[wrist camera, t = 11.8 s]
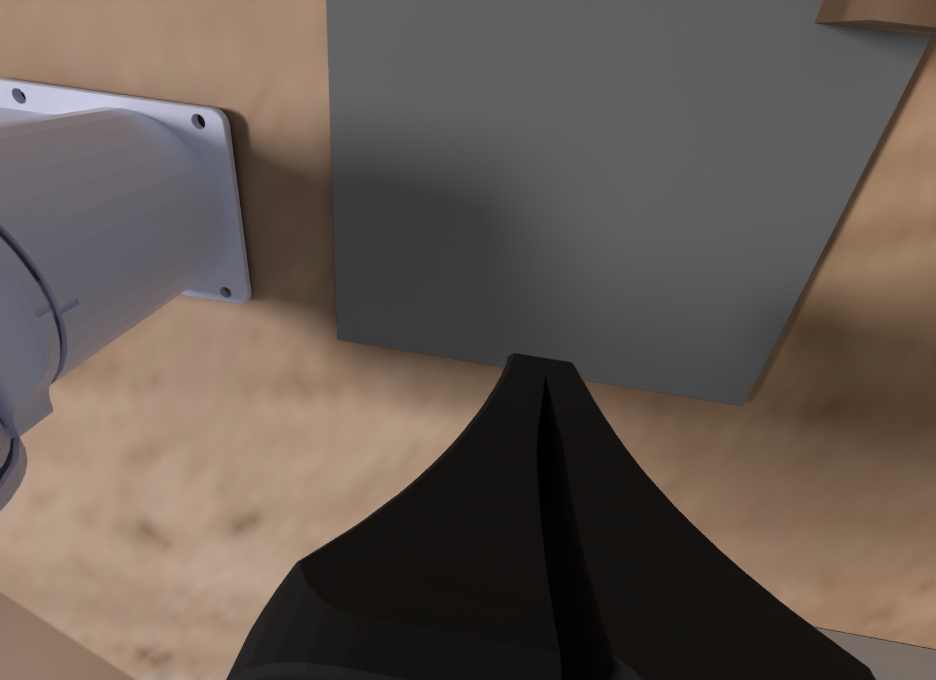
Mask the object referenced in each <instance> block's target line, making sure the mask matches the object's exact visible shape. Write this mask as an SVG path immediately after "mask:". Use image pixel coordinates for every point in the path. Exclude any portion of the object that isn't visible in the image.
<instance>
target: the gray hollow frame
mask: <svg viewBox="0 0 936 680" xmlns="http://www.w3.org/2000/svg"><path fill="white" fill-rule="evenodd" d="M816 629H817V630H819V631H820V632H821V633H823V634H824V635H826V636H827V637H828V638H830V639H831V640H832V641H834V642H835V643H836V644H838V645H839V646H840V647H842V648H843V649H844V650H846V651H847V652H849V653H850V654H851V655H853V656H854V657H855V658H857V659H858V660H859V661H861V662H862V663H863V664H865V665H866V666H867V667H869V668H870V670H871V672H872V674H873V675H874V677H875V678H876V680H936V650H933V649H928V648H922V647H917V646H912V645H906V644H901V643H895V642H890V641H885V640H879V639H874V638H869V637H863V636H858V635H852V634H847V633H842V632H836V631H831V630H825V629H820V628H816Z"/></svg>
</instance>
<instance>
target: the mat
mask: <svg viewBox="0 0 936 680" xmlns="http://www.w3.org/2000/svg"><path fill="white" fill-rule="evenodd" d="M822 3H823V0H326V6H327V37H328V68H329V99H330V131H331V162H332V193H333V225H334V256H335V287H336V318H337V340H343V341H349V342H355V343H361V344H367V345H373V346H379V347H385V348H391V349H397V350H403V351H410V352H416V353H422V354H428V355H434V356H440V357H446V358H452V359H458V360H464V361H470V362H476V363H483V364H489V365H495V366H501V367H505V365H506V362H507V357H508V356H509V355H511V354H513V353H518V354H524V355H531V356H537V357H543V358H549V359H555V360H561V361H567V362H572V363H573V364H574V366H575V367H576V369H577V371H578V373H579V374H580V376H581V378H582V380H586V381H592V382H598V383H604V384H610V385H616V386H623V387H629V388H635V389H641V390H647V391H653V392H659V393H665V394H671V395H677V396H683V397H690V398H696V399H702V400H708V401H714V402H720V403H726V404H732V405H738V406H744V404H745V402H746V400H747V398H748V396H749V395H750V393H751V391H752V389H753V387H754V385H755V383H756V381H757V379H758V377H759V375H760V373H761V371H762V369H763V367H764V365H765V363H766V361H767V359H768V357H769V355H770V353H771V351H772V349H773V347H774V345H775V343H776V342H777V340H778V338H779V336H780V334H781V332H782V330H783V328H784V326H785V324H786V322H787V320H788V318H789V316H790V314H791V312H792V310H793V308H794V306H795V304H796V302H797V300H798V298H799V296H800V294H801V292H802V291H803V289H804V287H805V285H806V283H807V281H808V279H809V277H810V275H811V273H812V271H813V269H814V267H815V265H816V263H817V261H818V259H819V257H820V255H821V253H822V251H823V249H824V247H825V245H826V243H827V241H828V240H829V238H830V236H831V234H832V232H833V230H834V228H835V226H836V224H837V222H838V220H839V218H840V216H841V214H842V212H843V210H844V208H845V206H846V204H847V202H848V200H849V198H850V196H851V194H852V192H853V190H854V188H855V187H856V185H857V183H858V181H859V179H860V177H861V175H862V173H863V171H864V169H865V167H866V165H867V163H868V161H869V159H870V157H871V155H872V153H873V151H874V149H875V147H876V145H877V143H878V141H879V139H880V137H881V136H882V134H883V132H884V130H885V128H886V126H887V124H888V122H889V120H890V118H891V116H892V114H893V112H894V110H895V108H896V106H897V104H898V102H899V100H900V98H901V96H902V94H903V92H904V90H905V88H906V86H907V84H908V83H909V81H910V79H911V77H912V75H913V73H914V71H915V69H916V67H917V65H918V63H919V61H920V59H921V57H922V55H923V53H924V51H925V49H926V47H927V45H928V43H929V41H930V39H931V37H932V35H933V34H900V33H892V32H884V31H876V30H868V29H860V28H852V27H844V26H836V25H828V24H819V23H815V20H816V18H817V15H818V13H819V10H820V8H821V5H822Z"/></svg>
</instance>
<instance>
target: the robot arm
mask: <svg viewBox="0 0 936 680" xmlns="http://www.w3.org/2000/svg"><path fill="white" fill-rule="evenodd" d="M21 91H22V92H23V93H24V95H25V97H26V100H25V99H24V98H23V96H22V94H21ZM198 115H201V116H202V117H203V118H204V121H205V127H203V126H201V125H200V124H199V122H198ZM225 287H226V288H228V289H229V290H230V291H231V294H230V293H228V292H227V291H226V290H225ZM179 294H181V295H187V296H193V297H199V298H206V299H212V300H218V301H224V302H230V303H236V304H243V303H245V302H247V301H248V300H249V299H250V297H251V285H250V278H249V270H248V262H247V255H246V247H245V239H244V231H243V224H242V216H241V208H240V201H239V193H238V185H237V178H236V170H235V162H234V155H233V147H232V139H231V131H230V124H229V121H228V118H227V116H226V115H225V113H224V112H222V111H221V110H220V109H217V108H214V107H207V106H200V105H193V104H186V103H179V102H172V101H165V100H158V99H151V98H144V97H137V96H129V95H122V94H115V93H108V92H101V91H94V90H87V89H80V88H73V87H66V86H59V85H52V84H44V83H37V82H30V81H23V80H16V79H9V78H2V77H0V511H1V510H2V509H3V508H4V507H5V505H6V504H7V503H8V502H9V501H10V499H11V498H12V497H13V495H14V494H15V492H16V491H17V489H18V488H19V486H20V484H21V482H22V480H23V477H24V475H25V473H26V467H27V454H26V448H25V446H24V444H23V442H22V441H21V439H20V436H21V435H23V434H24V433H25V432H27V431H28V430H29V429H31V428H32V427H33V426H35V425H36V424H37V423H39V422H40V421H41V420H43V419H44V418H45V417H46V416H48V415H49V414H50V413H52V412H53V406H52V404H51V401H50V397H49V387H50V385H51V384H53V383H54V382H56V381H57V380H58V379H60V378H61V377H63V376H64V375H66V374H67V373H68V372H70V371H71V370H73V369H74V368H76V367H77V366H78V365H80V364H81V363H83V362H84V361H85V360H87V359H88V358H90V357H91V356H93V355H94V354H95V353H97V352H98V351H100V350H101V349H103V348H104V347H105V346H107V345H108V344H110V343H111V342H113V341H114V340H115V339H117V338H118V337H120V336H121V335H122V334H124V333H125V332H127V331H128V330H130V329H131V328H132V327H134V326H135V325H137V324H138V323H140V322H141V321H142V320H144V319H145V318H147V317H148V316H149V315H151V314H152V313H154V312H155V311H157V310H158V309H159V308H161V307H162V306H164V305H165V304H167V303H168V302H169V301H171V300H172V299H174V298H175V297H177V296H178V295H179ZM226 680H876V678H875V677H874V675H873V674H872V672H871V670H870V668H869V667H867V666H866V665H865V664H863V663H862V662H861V661H859V660H858V659H857V658H855V657H854V656H853V655H851V654H850V653H849V652H847V651H846V650H844V649H843V648H842V647H840V646H839V645H838V644H836V643H835V642H834V641H832V640H831V639H830V638H828V637H827V636H826V635H824V634H823V633H821V632H820V631H819V630H817V629H816V628H815V627H813V626H812V625H811V624H809V623H808V622H807V621H805V620H804V619H803V618H801V617H800V616H798V615H797V614H796V613H794V612H793V611H792V610H790V609H789V608H788V607H787V606H785V605H784V604H783V603H782V602H780V601H779V600H778V599H777V598H775V597H774V596H773V595H772V594H771V593H769V592H768V591H767V590H766V589H765V588H763V587H762V586H761V585H760V584H759V583H757V582H756V581H755V580H754V579H752V578H751V577H750V576H749V575H748V574H746V573H745V572H744V571H743V570H742V569H741V568H739V567H738V566H737V565H736V564H735V563H734V562H733V561H732V560H730V559H729V558H728V557H727V556H726V555H725V554H724V553H722V552H721V551H720V550H719V549H718V548H717V547H716V546H715V545H714V544H713V543H712V542H711V541H710V540H709V539H708V538H707V537H705V536H704V535H703V534H702V533H701V532H700V531H699V530H698V529H697V528H696V527H695V526H694V525H693V524H692V523H691V522H690V521H689V520H688V519H687V518H686V517H685V516H684V515H683V514H682V513H681V512H680V511H679V510H678V509H677V508H676V507H675V506H674V505H673V504H672V503H671V502H670V500H669V499H668V498H667V497H666V496H665V495H664V494H663V493H662V492H661V490H660V489H659V488H658V487H657V486H656V485H655V484H654V483H653V481H652V480H651V479H650V478H649V477H648V476H647V475H646V473H645V472H644V471H643V470H642V469H641V467H640V466H639V465H638V464H637V462H636V461H635V460H634V458H633V457H632V456H631V454H630V453H629V452H628V450H627V449H626V448H625V446H624V445H623V443H622V442H621V441H620V439H619V438H618V436H617V435H616V433H615V432H614V430H613V429H612V427H611V426H610V424H609V423H608V421H607V420H606V418H605V417H604V415H603V414H602V412H601V411H600V409H599V407H598V406H597V404H596V402H595V401H594V399H593V397H592V396H591V394H590V392H589V391H588V389H587V387H586V385H585V384H584V382H583V380H582V378H581V376H580V374H579V373H578V371H577V369H576V367H575V366H574V364H573V363H572V362H567V361H561V360H555V359H549V358H543V357H537V356H531V355H524V354H518V353H513V354H511V355H509V356H508V357H507V362H506V365H505V368H504V371H503V373H502V375H501V377H500V379H499V380H498V382H497V384H496V386H495V388H494V389H493V391H492V392H491V394H490V395H489V397H488V399H487V400H486V402H485V403H484V405H483V406H482V408H481V409H480V410H479V412H478V413H477V414H476V416H475V417H474V418H473V419H472V421H471V422H470V423H469V424H468V426H467V427H466V428H465V430H464V431H463V432H462V433H461V434H460V436H459V437H458V438H457V439H456V440H455V441H454V442H453V443H452V445H451V446H450V447H449V448H448V449H447V450H446V451H445V452H444V453H443V454H442V455H441V456H440V457H439V458H438V459H437V460H436V461H435V462H434V463H433V464H432V465H431V466H430V467H429V468H428V469H427V470H425V471H424V472H423V473H422V474H421V475H420V476H419V477H418V478H417V479H416V480H414V481H413V482H412V483H411V484H410V485H409V486H407V487H406V488H405V489H404V490H403V491H401V492H400V493H399V494H398V495H396V496H395V497H394V498H392V499H391V500H390V501H388V502H387V503H386V504H384V505H383V506H382V507H380V508H379V509H378V510H376V511H375V512H374V513H372V514H371V515H370V516H368V517H367V518H366V519H364V520H363V521H362V522H360V523H359V524H357V525H356V526H354V527H353V528H351V529H350V530H348V531H347V532H345V533H343V534H342V535H340V536H338V537H337V538H335V539H334V540H332V541H330V542H329V543H327V544H326V545H324V546H322V547H321V548H319V549H318V550H316V551H314V552H313V553H311V554H309V555H308V556H306V557H304V558H303V559H301V560H299V561H298V562H297V563H296V564H295V565H294V567H293V568H292V569H291V571H290V572H289V573H288V575H287V576H286V577H285V579H284V580H283V581H282V583H281V584H280V585H279V587H278V588H277V590H276V591H275V593H274V594H273V596H272V597H271V599H270V600H269V602H268V603H267V605H266V606H265V608H264V609H263V611H262V612H261V614H260V616H259V617H258V619H257V620H256V622H255V624H254V625H253V627H252V629H251V630H250V632H249V634H248V636H247V638H246V640H245V642H244V644H243V646H242V648H241V650H240V652H239V654H238V656H237V659H236V661H235V663H234V665H233V667H232V669H231V671H230V673H229V675H228V677H227V679H226Z"/></svg>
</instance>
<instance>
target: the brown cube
mask: <svg viewBox="0 0 936 680" xmlns="http://www.w3.org/2000/svg"><path fill="white" fill-rule="evenodd" d="M815 23H819V24H828V25H836V26H844V27H852V28H860V29H868V30H876V31H884V32H892V33H900V34H936V0H823V3H822V5H821V8H820V10H819V13H818V15H817V18H816V20H815Z"/></svg>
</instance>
